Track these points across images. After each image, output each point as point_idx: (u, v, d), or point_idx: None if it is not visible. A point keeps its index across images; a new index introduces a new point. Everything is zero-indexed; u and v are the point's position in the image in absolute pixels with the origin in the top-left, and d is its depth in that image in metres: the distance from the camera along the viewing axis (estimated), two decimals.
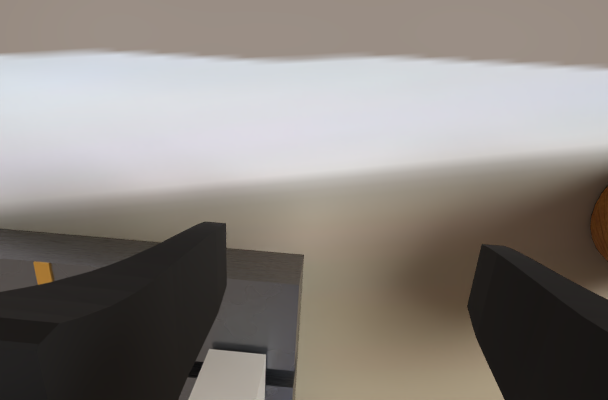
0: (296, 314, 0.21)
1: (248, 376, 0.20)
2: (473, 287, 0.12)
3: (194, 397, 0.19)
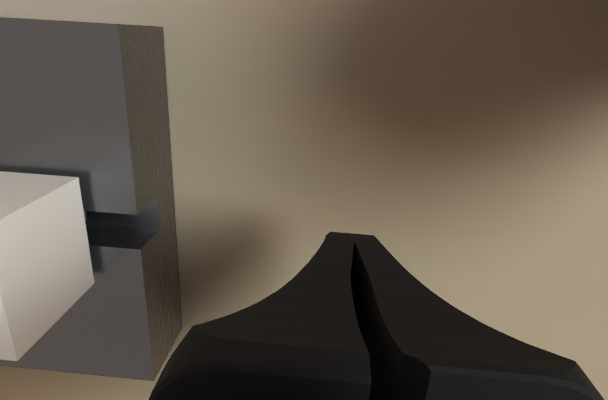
0: (123, 92, 0.11)
1: (20, 194, 0.11)
2: None
3: None
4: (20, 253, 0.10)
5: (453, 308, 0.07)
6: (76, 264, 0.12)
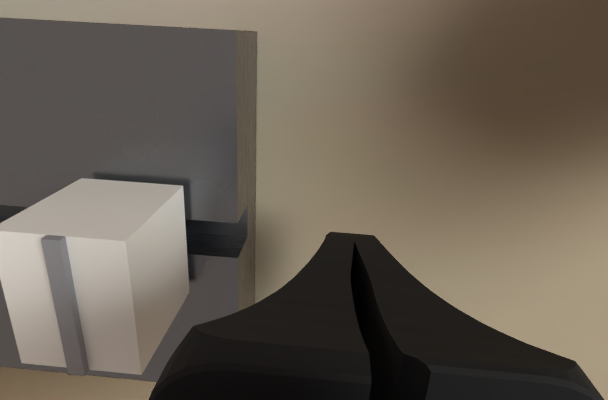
0: (234, 99, 0.11)
1: (138, 204, 0.11)
2: None
3: (10, 223, 0.09)
4: (146, 265, 0.10)
5: (453, 308, 0.07)
6: (179, 274, 0.12)
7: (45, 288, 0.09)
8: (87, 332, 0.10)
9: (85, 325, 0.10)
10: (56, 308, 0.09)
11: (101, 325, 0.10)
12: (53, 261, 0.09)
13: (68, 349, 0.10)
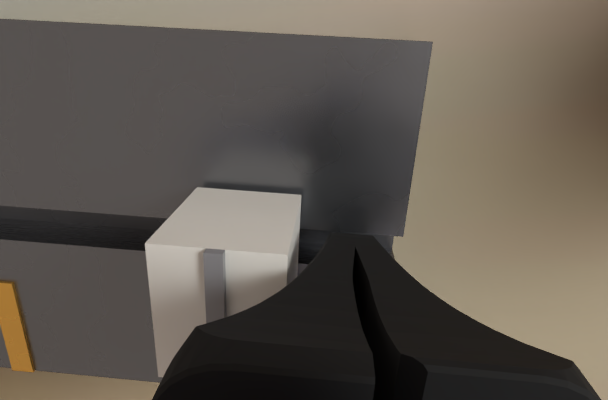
0: (420, 112, 0.11)
1: (272, 215, 0.10)
2: None
3: (162, 236, 0.09)
4: (289, 278, 0.10)
5: (451, 308, 0.07)
6: None
7: (197, 302, 0.09)
8: None
9: None
10: None
11: None
12: (212, 275, 0.09)
13: None
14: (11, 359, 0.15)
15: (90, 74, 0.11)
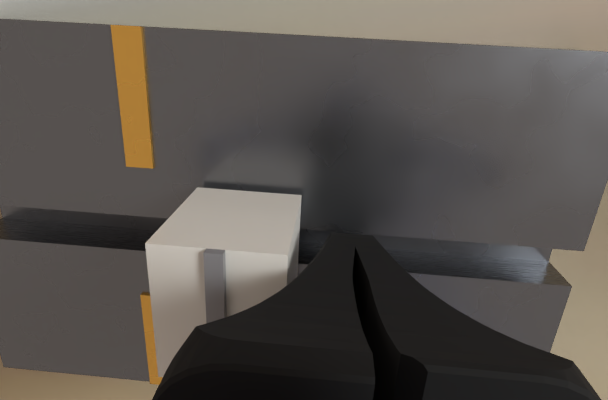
0: None
1: (272, 215, 0.10)
2: None
3: (162, 236, 0.09)
4: (290, 278, 0.10)
5: (451, 308, 0.07)
6: None
7: (197, 302, 0.09)
8: None
9: None
10: (208, 322, 0.09)
11: None
12: (212, 275, 0.09)
13: None
14: (150, 372, 0.15)
15: (281, 86, 0.11)
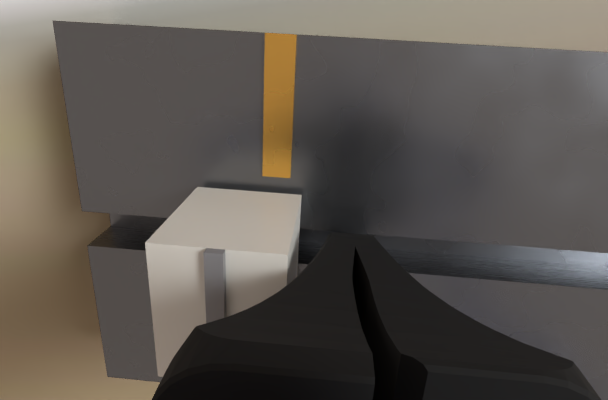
0: None
1: (272, 215, 0.10)
2: None
3: (162, 236, 0.09)
4: (289, 277, 0.10)
5: (452, 308, 0.07)
6: None
7: (197, 301, 0.09)
8: None
9: None
10: (208, 322, 0.09)
11: None
12: (212, 275, 0.09)
13: None
14: None
15: (434, 95, 0.11)
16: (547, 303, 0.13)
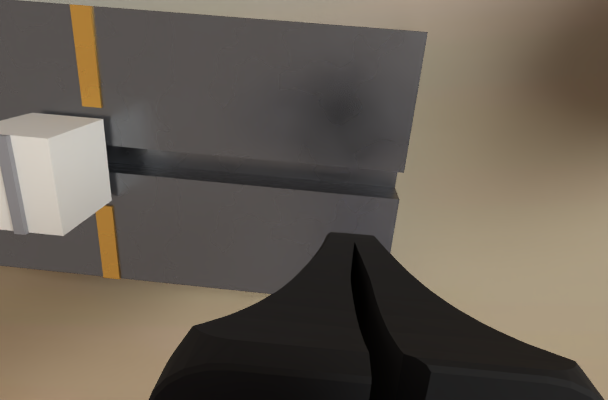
0: (417, 81, 0.16)
1: (65, 125, 0.16)
2: None
3: None
4: (67, 162, 0.15)
5: (453, 308, 0.07)
6: (100, 182, 0.17)
7: None
8: (26, 204, 0.15)
9: (25, 198, 0.15)
10: (5, 185, 0.14)
11: (35, 198, 0.15)
12: (2, 151, 0.14)
13: (13, 215, 0.15)
14: (103, 268, 0.20)
15: (187, 49, 0.16)
16: (292, 203, 0.18)
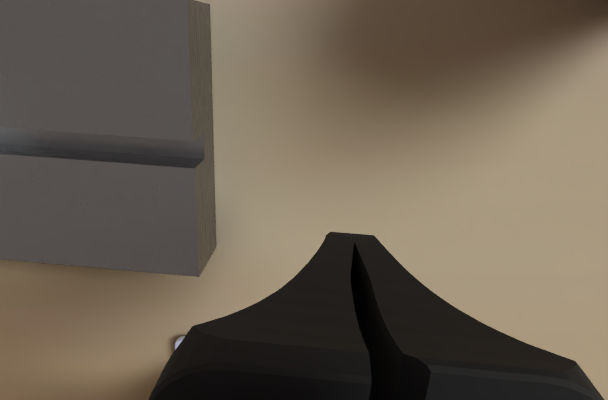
0: (187, 48, 0.16)
1: None
2: None
3: None
4: None
5: (453, 308, 0.07)
6: None
7: None
8: None
9: None
10: None
11: None
12: None
13: None
14: None
15: None
16: (93, 175, 0.18)
